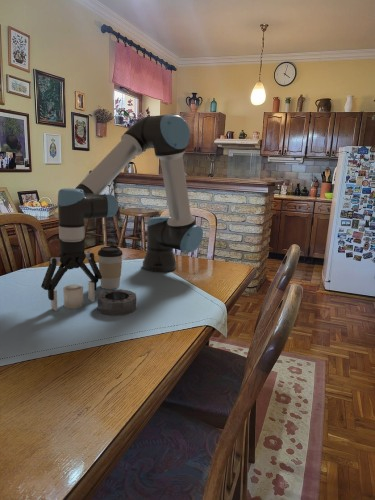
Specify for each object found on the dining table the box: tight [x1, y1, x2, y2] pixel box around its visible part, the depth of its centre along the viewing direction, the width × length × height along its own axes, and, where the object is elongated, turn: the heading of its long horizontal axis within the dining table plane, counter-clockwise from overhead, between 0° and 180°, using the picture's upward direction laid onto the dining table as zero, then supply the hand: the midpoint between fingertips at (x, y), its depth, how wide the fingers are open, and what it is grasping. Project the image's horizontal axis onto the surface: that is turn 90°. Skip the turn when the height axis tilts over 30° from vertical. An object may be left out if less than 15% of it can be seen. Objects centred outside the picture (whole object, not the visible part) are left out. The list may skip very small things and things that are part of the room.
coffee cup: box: [97, 245, 123, 290], centre depth 133 cm, size 9×9×15 cm
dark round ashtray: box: [97, 288, 137, 316], centre depth 114 cm, size 12×12×4 cm
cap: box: [62, 284, 84, 310], centre depth 114 cm, size 6×6×6 cm
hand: (73, 304), depth 115 cm, fingers open, 12 cm apart
